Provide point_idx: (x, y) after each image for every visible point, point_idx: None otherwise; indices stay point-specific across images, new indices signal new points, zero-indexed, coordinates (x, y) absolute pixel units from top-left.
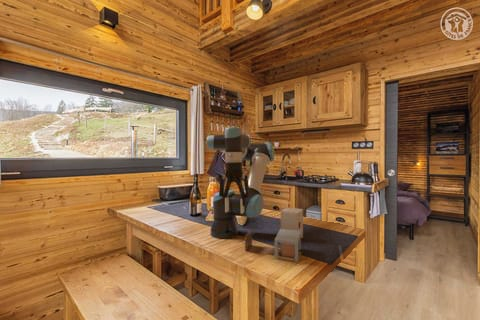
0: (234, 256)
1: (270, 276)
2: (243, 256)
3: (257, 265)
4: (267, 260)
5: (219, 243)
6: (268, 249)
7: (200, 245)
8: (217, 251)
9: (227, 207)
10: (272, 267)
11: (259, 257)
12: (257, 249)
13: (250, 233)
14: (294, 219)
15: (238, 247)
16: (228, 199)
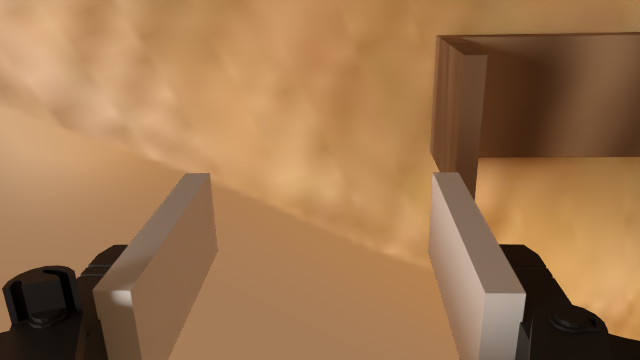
0: (369, 198)
1: (621, 334)
2: (426, 181)
3: None
4: (593, 185)
5: (167, 34)
6: (602, 75)
7: (57, 117)
8: (229, 168)
9: (198, 252)
10: (629, 254)
11: (535, 163)
12: (517, 103)
13: (481, 102)
14: None
15: (344, 58)
16: (151, 277)
